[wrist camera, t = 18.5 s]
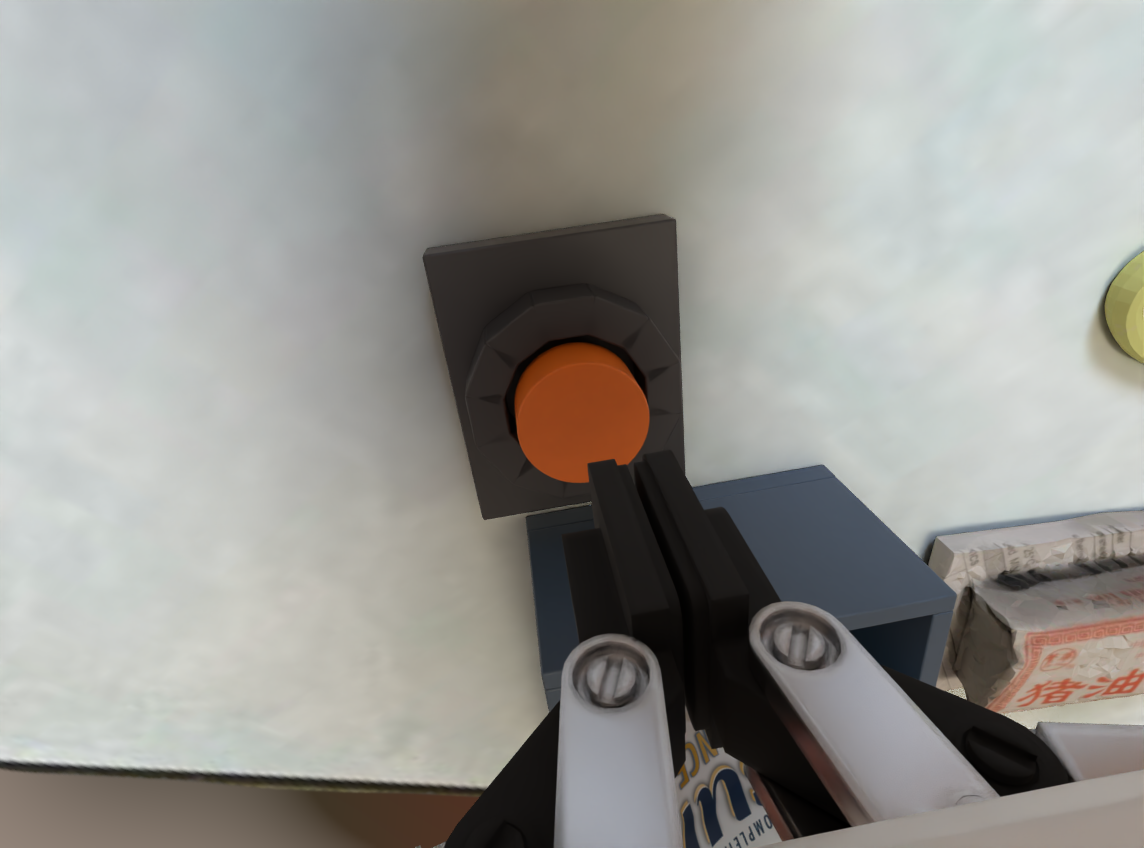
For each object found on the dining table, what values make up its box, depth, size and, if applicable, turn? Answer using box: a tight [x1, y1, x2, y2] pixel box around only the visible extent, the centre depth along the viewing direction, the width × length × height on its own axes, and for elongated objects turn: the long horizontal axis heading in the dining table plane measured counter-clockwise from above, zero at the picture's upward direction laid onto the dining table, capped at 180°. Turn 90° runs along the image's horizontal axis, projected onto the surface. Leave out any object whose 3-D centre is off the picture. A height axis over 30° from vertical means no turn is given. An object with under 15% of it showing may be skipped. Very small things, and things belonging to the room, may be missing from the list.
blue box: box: [526, 465, 957, 713], centre depth 24 cm, size 13×13×8 cm
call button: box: [514, 342, 649, 483], centre depth 18 cm, size 4×4×2 cm
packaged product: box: [928, 511, 1144, 714], centre depth 28 cm, size 18×5×10 cm
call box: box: [423, 214, 685, 520], centre depth 20 cm, size 10×8×3 cm
